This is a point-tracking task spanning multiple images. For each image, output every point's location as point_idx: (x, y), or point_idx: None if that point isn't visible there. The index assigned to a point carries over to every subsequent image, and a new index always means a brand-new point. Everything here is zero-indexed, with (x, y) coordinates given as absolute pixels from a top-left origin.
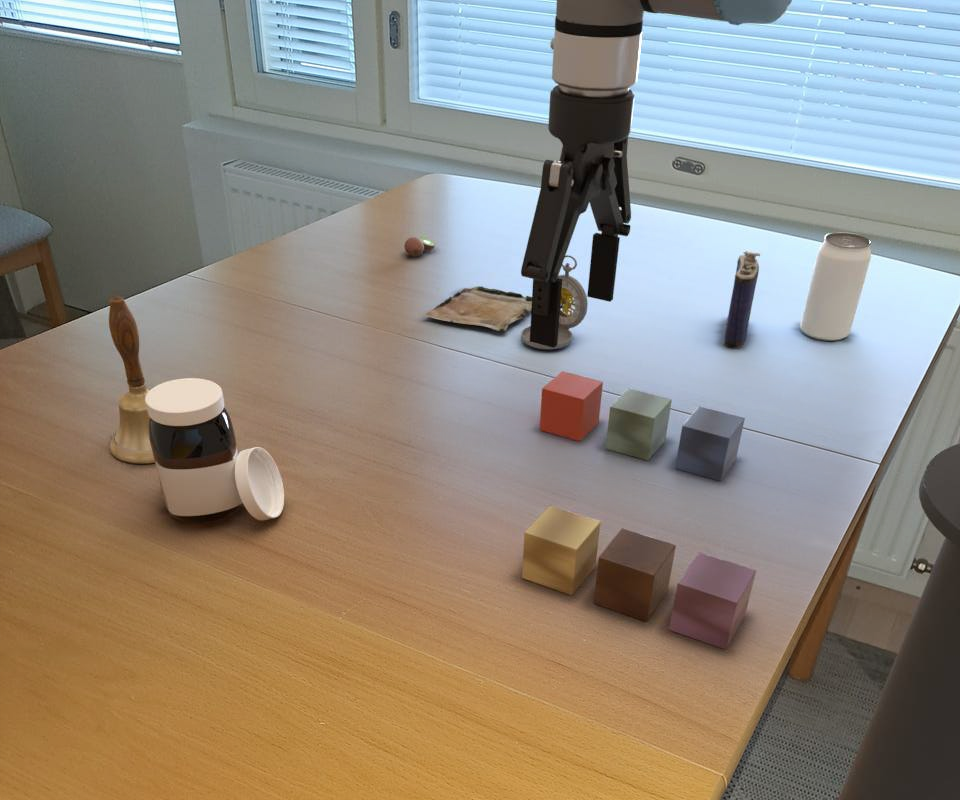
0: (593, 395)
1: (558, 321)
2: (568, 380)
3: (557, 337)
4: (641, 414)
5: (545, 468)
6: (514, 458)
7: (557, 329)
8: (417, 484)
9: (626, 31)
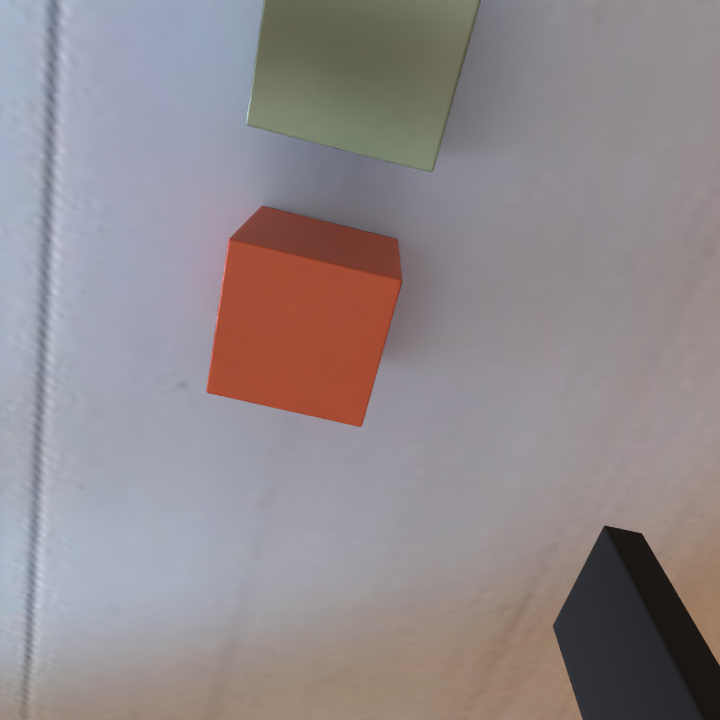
0: (315, 253)
1: (665, 633)
2: (270, 359)
3: (623, 556)
4: (472, 22)
5: (573, 302)
6: (534, 388)
7: (653, 596)
8: (691, 552)
9: None
